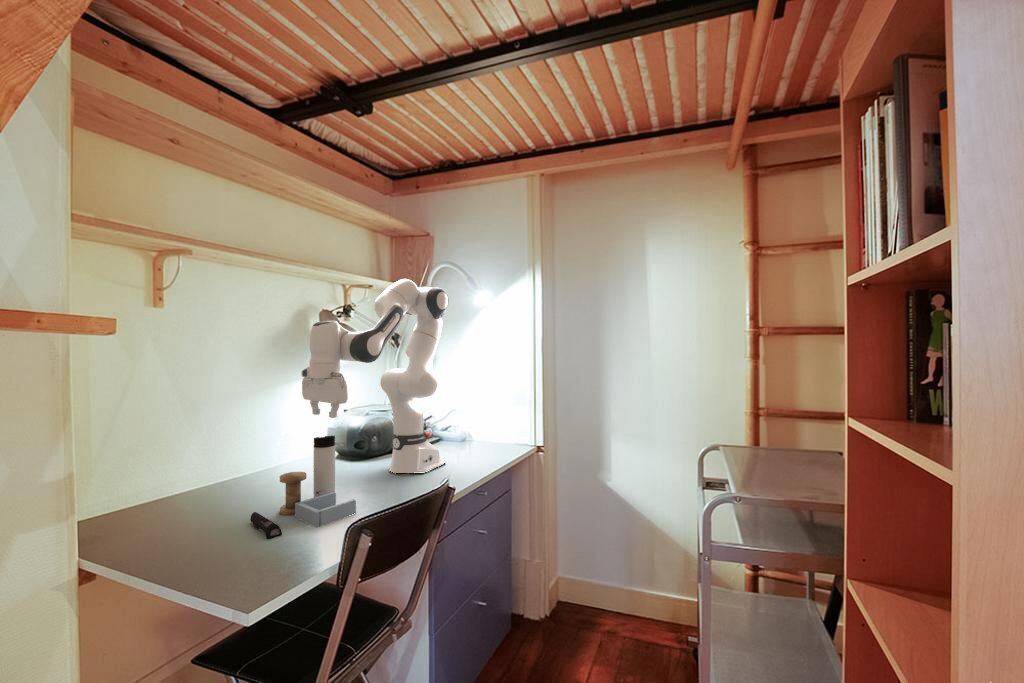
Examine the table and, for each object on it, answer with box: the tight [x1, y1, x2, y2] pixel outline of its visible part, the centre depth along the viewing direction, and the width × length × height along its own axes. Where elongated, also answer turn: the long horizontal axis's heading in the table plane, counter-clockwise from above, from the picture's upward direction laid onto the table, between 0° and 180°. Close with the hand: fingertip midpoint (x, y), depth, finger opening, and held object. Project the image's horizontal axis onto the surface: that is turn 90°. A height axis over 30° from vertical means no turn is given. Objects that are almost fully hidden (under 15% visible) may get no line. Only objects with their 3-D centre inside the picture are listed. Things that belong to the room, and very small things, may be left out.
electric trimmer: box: [249, 511, 283, 540], centre depth 118 cm, size 4×16×3 cm, turn 47°
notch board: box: [294, 491, 357, 528], centre depth 127 cm, size 12×11×4 cm
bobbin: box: [279, 471, 307, 516], centre depth 130 cm, size 7×7×10 cm
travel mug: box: [313, 435, 336, 498], centre depth 140 cm, size 6×7×20 cm
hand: (324, 416), depth 140 cm, fingers open, 8 cm apart
